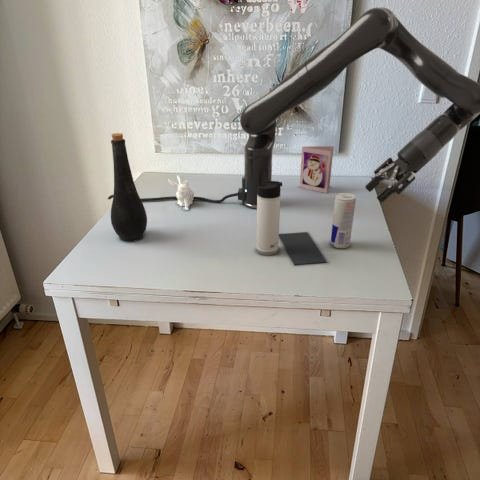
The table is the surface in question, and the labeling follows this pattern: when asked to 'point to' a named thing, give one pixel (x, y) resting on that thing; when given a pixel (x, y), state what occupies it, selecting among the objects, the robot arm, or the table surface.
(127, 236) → the bottle
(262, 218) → the travel mug
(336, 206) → the beverage can
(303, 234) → the mat
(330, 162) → the greeting card
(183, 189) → the rabbit figurine
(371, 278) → the table surface
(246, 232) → the table surface
